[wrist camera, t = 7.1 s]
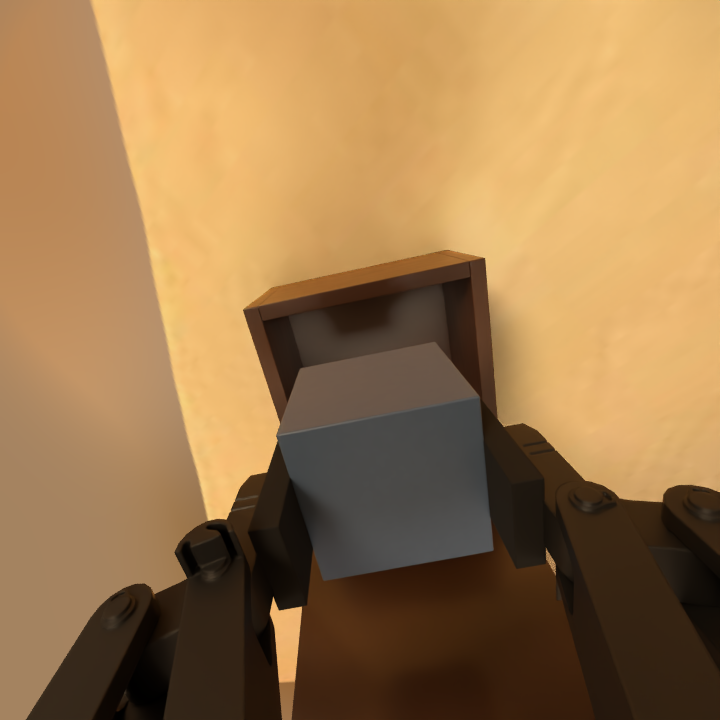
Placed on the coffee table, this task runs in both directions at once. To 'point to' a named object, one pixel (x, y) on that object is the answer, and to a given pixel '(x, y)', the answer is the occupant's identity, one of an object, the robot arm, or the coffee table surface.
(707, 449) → the coffee table surface
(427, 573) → the lid
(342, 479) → the block
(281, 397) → the chest
